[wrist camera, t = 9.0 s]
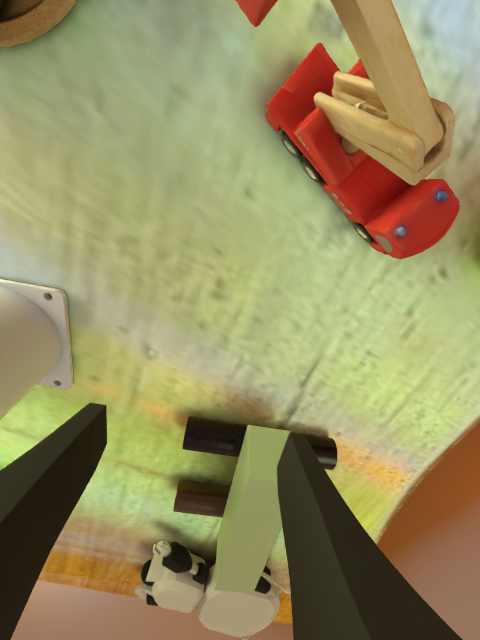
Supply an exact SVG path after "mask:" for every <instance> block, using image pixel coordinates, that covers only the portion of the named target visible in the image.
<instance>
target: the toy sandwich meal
mask: <svg viewBox="0 0 480 640" xmlns="http://www.w3.org/2000/svg"><path fill="white" fill-rule="evenodd" d="M77 1H78V0H0V47H8V46H13V45H18V44H22V43H25V42H28V41H30V40H33V39H35V38H37V37H39V36H41V35H43V34H44V33H46V32H47V31H49V30H50V29H52V28H53V27H54V26H56V25H57V24H58V23H59V22H60V21H61V20H62V19H63V18H64V17H65V16H66V15H67V14H68V13H69V11H70V10H71V9H72V8H73V6H74V5H75V4H76V2H77Z"/></svg>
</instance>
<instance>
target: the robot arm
mask: <svg viewBox="0 0 480 640" xmlns="http://www.w3.org/2000/svg"><path fill="white" fill-rule="evenodd" d="M48 293H49V294H51V295H52V298H50V297H49V296H48ZM59 381H60V382H59ZM73 384H74V378H73V365H72V353H71V340H70V328H69V315H68V303H67V296H66V294H65V292H63V291H62V290H60V289H55V288H49V287H44V286H38V285H32V284H27V283H21V282H15V281H10V280H4V279H0V419H1V418H3V417H4V416H5V415H6V414H7V413H8V412H9V411H10V410H11V409H12V408H13V407H14V406H15V405H16V404H17V403H18V402H19V401H20V400H21V399H22V398H23V397H24V396H26V395H27V394H28V393H29V392H30V391H31V390H32V389H33V388H34V387H35V386H36V385H43V386H50V387H56V388H63V389H69V388H71V386H72V385H73ZM106 444H107V418H106V405H101V404H94V403H89V404H88V405H86V406H85V407H84V408H82V409H81V410H80V411H79V412H78V413H76V414H75V415H74V416H73V417H71V418H70V419H69V420H68V421H66V422H65V423H64V424H63V425H61V426H60V427H59V428H58V429H56V430H55V431H54V432H53V433H51V434H50V435H49V436H47V437H46V438H45V439H43V440H42V441H41V442H40V443H38V444H37V445H36V446H34V447H33V448H32V449H30V450H29V451H27V452H26V453H25V454H23V455H22V456H20V457H19V458H18V459H16V460H15V461H13V462H12V463H11V464H9V465H8V466H6V467H5V468H3V469H2V470H1V471H0V640H10V639H11V637H12V635H13V632H14V630H15V628H16V626H17V623H18V621H19V619H20V617H21V614H22V612H23V610H24V608H25V605H26V603H27V601H28V599H29V596H30V594H31V592H32V590H33V588H34V586H35V583H36V581H37V579H38V577H39V575H40V573H41V571H42V568H43V566H44V564H45V562H46V560H47V558H48V555H49V553H50V551H51V549H52V547H53V546H54V544H55V542H56V540H57V538H58V536H59V534H60V532H61V531H62V529H63V527H64V525H65V524H66V522H67V520H68V518H69V516H70V515H71V513H72V511H73V509H74V508H75V506H76V504H77V502H78V501H79V499H80V497H81V495H82V493H83V492H84V490H85V488H86V486H87V484H88V483H89V481H90V479H91V477H92V475H93V474H94V472H95V470H96V468H97V465H98V463H99V461H100V459H101V456H102V454H103V451H104V449H105V447H106ZM277 486H278V499H279V506H280V513H281V520H282V526H283V533H284V540H285V546H286V553H287V560H288V568H289V576H290V589H291V603H292V619H293V635H294V640H462V639H461V638H460V637H459V636H458V635H457V634H456V633H455V632H454V631H453V630H452V629H451V628H450V627H449V626H448V625H447V624H446V623H445V622H444V621H443V620H442V619H441V618H440V616H439V615H438V614H437V613H436V612H435V611H434V610H433V609H432V608H431V607H430V606H429V605H428V604H427V603H426V602H425V601H424V600H423V599H422V597H420V595H419V594H418V593H417V592H416V591H415V590H414V589H413V587H412V586H411V585H410V584H409V583H408V582H407V581H406V580H405V579H404V577H403V576H402V575H401V574H400V573H399V572H398V570H397V569H396V568H395V567H394V566H393V565H392V564H391V562H390V561H389V560H388V559H387V558H386V556H385V555H384V554H383V553H382V551H381V550H380V549H379V548H378V546H377V545H376V544H375V543H374V541H373V540H372V539H371V537H370V536H369V535H368V534H367V532H366V531H365V530H364V528H363V527H362V526H361V524H360V523H359V521H358V520H357V519H356V517H355V516H354V514H353V513H352V511H351V510H350V509H349V507H348V506H347V504H346V503H345V501H344V500H343V498H342V497H341V495H340V494H339V492H338V490H337V489H336V487H335V486H334V484H333V483H332V481H331V479H330V478H329V476H328V475H327V473H326V471H325V470H324V468H323V466H322V465H321V463H320V461H319V459H318V458H317V456H316V454H315V453H314V451H313V449H312V447H311V446H310V444H309V442H308V440H307V439H306V437H305V435H301V434H295V433H289V435H288V438H287V441H286V443H285V446H284V449H283V451H282V454H281V457H280V460H279V462H278V465H277Z"/></svg>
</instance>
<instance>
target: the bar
mask: <svg viewBox="0 0 480 640" xmlns="http://www.w3.org/2000/svg"><path fill="white" fill-rule="evenodd" d="M289 433H291V431H287V430H280V429H273V428H266V427H260V426H253V425H248V426H247V430H246V433H245V437H244V441H243V444H242V448H241V452H240V455H239V459H238V463H237V466H236V470H235V474H234V477H233V481H232V485H231V488H230V492H229V496H228V499H227V503H226V507H225V510H224V514H223V518H222V521H221V525H220V529H219V532H218V540H217V554H216V569H215V583H214V590H219V591H229V592H238V593H248V594H253V593H254V590H255V588H256V586H257V583H258V581H259V579H260V576H261V574H262V572H263V570H264V567H265V565H266V563H267V560H268V558H269V556H270V553H271V551H272V549H273V546H274V544H275V542H276V540H277V537H278V535H279V533H280V530H281V528H282V520H281V513H280V506H279V499H278V486H277V465H278V462H279V460H280V457H281V454H282V451H283V449H284V446H285V443H286V441H287V438H288V435H289Z"/></svg>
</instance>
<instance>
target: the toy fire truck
mask: <svg viewBox="0 0 480 640" xmlns="http://www.w3.org/2000/svg"><path fill="white" fill-rule="evenodd" d="M235 1H236V2H237V3H238V5H239V7H240V8H241V10H242V11H243V12H244V13H245V14H246V16H247V18H248V19H249V21H250V22H251V23H252V24H253V25H254V26H255V27H257V26H259V25H260V23H261V22H262V21H263V19H264V18H265V16H266V15H267V13H268V12H269V11H270V9H271V8H272V7H273V6H274V5H275V3H276V1H277V0H235ZM331 2H332V4H333V6H334V8H335V10H336V12H337V14H338V16H339V18H340V20H341V22H342V24H343V26H344V28H345V30H346V32H347V34H348V36H349V38H350V40H351V42H352V44H353V46H354V48H355V50H356V52H357V54H358V56H359V58H360V60H359V61H358V62H357V63H356V64H355V66H353V67H352V69H351V70H350V71H349V72H348V73H344V72H341V71H340V69H339V68H338V67H337V65H336V64H335V63H334V62H333V60H332V59H331V58H330V56H329V55H328V53H327V52H326V50H325V48H324V46H323V44H322V43H318V44H316V45H315V46H314V47H313V49H312V50H311V51H310V52H309V53H308V55H307V56H306V58H305V59H304V60H303V61H302V62H301V64H300V65H299V66H298V67H297V69H296V70H295V71H294V72H293V74H292V75H291V76H290V77H289V78H288V80H287V81H286V82H285V83H284V84H283V86H282V87H281V88H280V90H279V91H278V92H277V93H276V94H275V96H274V97H273V98H272V99H271V101H270V102H269V103H268V104H267V105H266V113H265V117H266V119H267V120H268V122H269V124H270V125H271V126H272V127H273V128H274V129H275V130H276V131H279V130H280V129H281V128H282V129H283V130H284V132H283V134H282V136H281V139H282V141H283V144H284V145H285V146H286V148H287V149H288V150H289V151H290V152H291V153H292V154H293V155H294V156H296V157H301V156H303V155H304V156H305V160H304V161H303V164H302V165H303V167H304V169H305V171H306V172H307V173H308V175H309V176H310V177H311V178H312V179H313V180H315V181H316V182H318V183H320V182H323V185H322V187H323V188H324V190H325V191H326V192H327V193H328V195H329V196H330V197H331V198H332V200H334V202H335V203H336V204H337V205H338V206H339V208H340V209H341V210H342V211H343V212H344V213H345V214H346V216H347V217H348V218H349V219H350V220H351V221H353V222H355V224H354V228H355V230H356V231H357V232H358V233H359V234H360V235H361V236H362V237H363V238H364V239H365V240H367V241H369V242H370V244H371V245H372V247H373V248H374V249H376V250H377V251H379V252H381V253H383V254H386V255H390V256H392V257H394V258H398V259H402V258H407V257H410V256H413V255H416V254H418V253H420V252H423V251H424V250H426V249H428V248H430V247H431V246H433V245H434V244H435V243H437V242H438V241H439V240H440V239H441V238H442V237H443V236H444V235H445V233H446V232H447V231H448V230H449V228H450V227H451V225H452V223H453V222H454V220H455V218H456V216H457V213H458V211H459V201H458V199H457V198H456V196H455V195H454V193H453V192H452V190H451V189H450V187H449V185H448V184H447V183H446V181H445V180H442V179H428V180H425V179H424V180H422V179H423V178H425V177H426V176H427V175H428V174H429V173H430V172H432V171H433V170H434V169H435V168H436V167H437V166H438V165H440V164H441V163H442V162H443V161H444V160H446V159H447V158H448V157H449V155H450V151H451V144H452V139H453V132H454V126H455V115H454V113H453V111H452V109H451V108H450V107H449V106H448V105H447V104H446V103H443V102H441V101H438V100H436V99H433V98H430V97H429V95H428V92H427V89H426V86H425V84H424V82H423V79H422V77H421V74H420V71H419V68H418V66H417V63H416V61H415V58H414V56H413V53H412V51H411V48H410V45H409V43H408V40H407V38H406V36H405V33H404V31H403V28H402V26H401V23H400V21H399V18H398V16H397V13H396V11H395V8H394V6H393V4H392V1H391V0H331ZM324 180H325V181H324Z"/></svg>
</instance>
